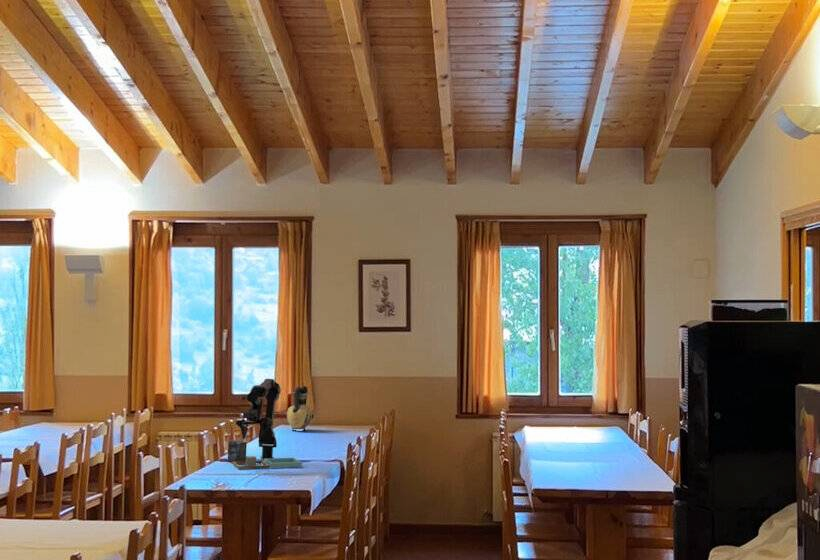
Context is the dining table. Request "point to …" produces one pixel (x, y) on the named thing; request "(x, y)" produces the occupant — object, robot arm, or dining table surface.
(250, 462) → the slate block
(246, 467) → the corral
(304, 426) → the amphora
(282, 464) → the bin
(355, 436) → the dining table surface
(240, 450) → the box
